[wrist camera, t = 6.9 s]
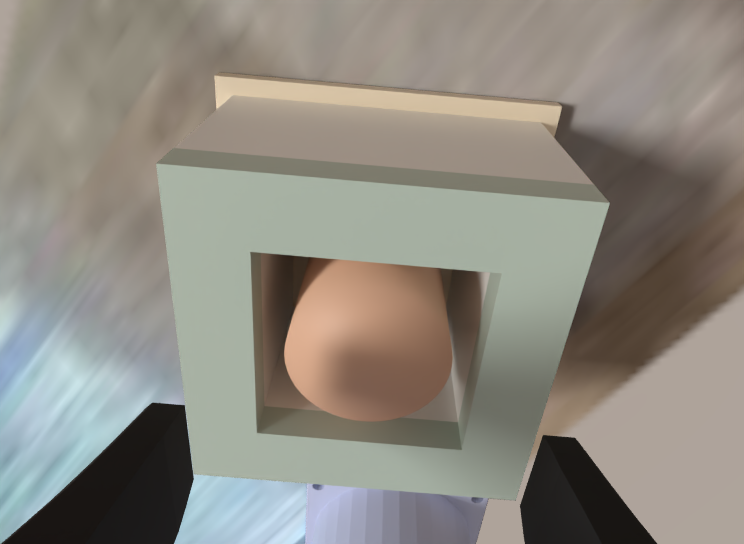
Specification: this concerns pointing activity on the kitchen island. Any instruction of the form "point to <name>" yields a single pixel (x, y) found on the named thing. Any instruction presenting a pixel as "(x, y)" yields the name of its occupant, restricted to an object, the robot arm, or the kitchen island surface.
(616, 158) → the kitchen island surface
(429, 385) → the peg
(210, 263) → the socket
